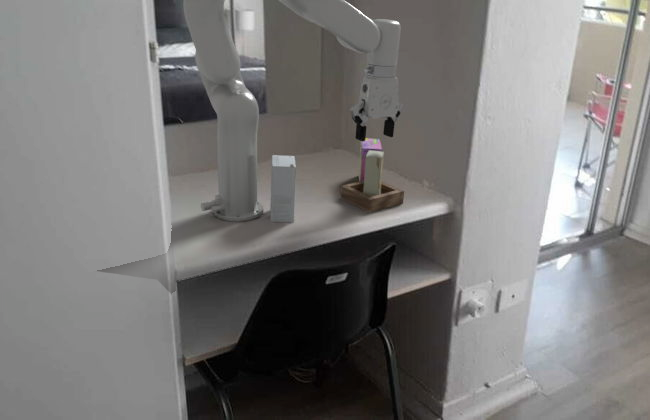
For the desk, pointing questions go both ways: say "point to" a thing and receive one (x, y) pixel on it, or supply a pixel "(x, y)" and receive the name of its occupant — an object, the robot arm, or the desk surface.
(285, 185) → the skincare box
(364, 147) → the box
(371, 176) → the skincare box
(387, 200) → the shallow wooden tray
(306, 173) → the desk surface
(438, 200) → the desk surface
